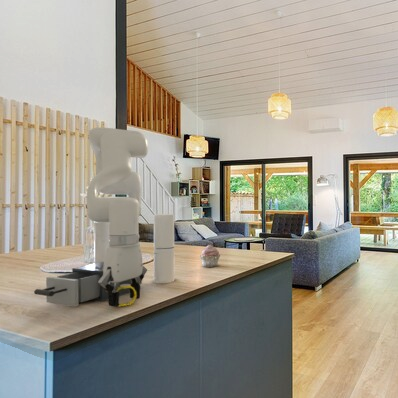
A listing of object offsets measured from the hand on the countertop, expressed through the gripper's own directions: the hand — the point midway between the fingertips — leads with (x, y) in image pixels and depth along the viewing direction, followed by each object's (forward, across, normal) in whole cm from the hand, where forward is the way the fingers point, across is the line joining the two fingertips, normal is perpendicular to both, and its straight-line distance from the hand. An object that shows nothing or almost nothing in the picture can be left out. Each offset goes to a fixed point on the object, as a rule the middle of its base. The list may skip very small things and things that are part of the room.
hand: (124, 301), depth 94 cm
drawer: (0, +3, -16) cm, 16 cm away
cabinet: (+1, -8, -16) cm, 18 cm away
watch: (+1, 0, 0) cm, 1 cm away
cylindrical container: (+1, -26, -9) cm, 28 cm away
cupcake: (+1, -54, -8) cm, 55 cm away
